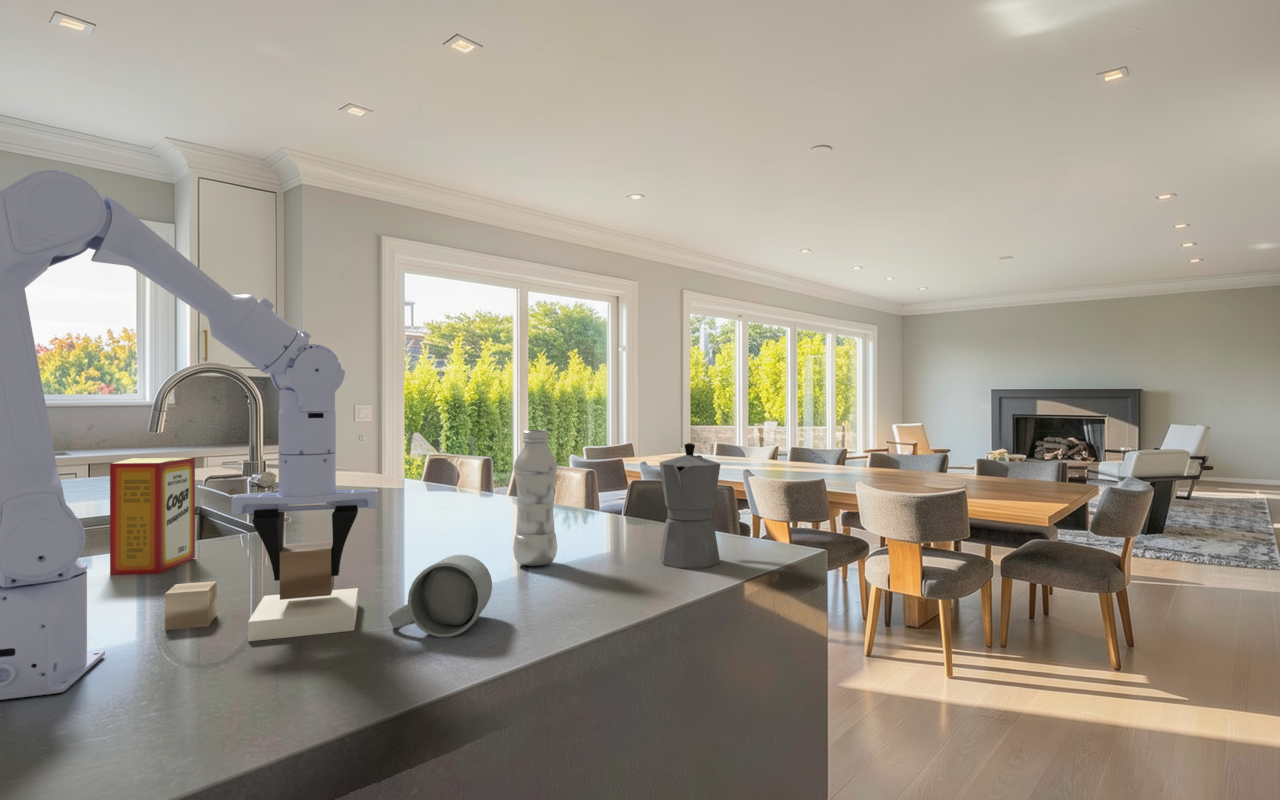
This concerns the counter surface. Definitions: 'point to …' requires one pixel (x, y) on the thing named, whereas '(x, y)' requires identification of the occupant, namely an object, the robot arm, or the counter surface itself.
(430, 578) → the ceramic mug
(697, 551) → the coffeepot
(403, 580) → the counter surface
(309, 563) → the walnut block
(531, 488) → the plastic bottle
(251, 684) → the counter surface
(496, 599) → the counter surface
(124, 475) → the baking soda box
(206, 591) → the maple block
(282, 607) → the base
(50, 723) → the counter surface
